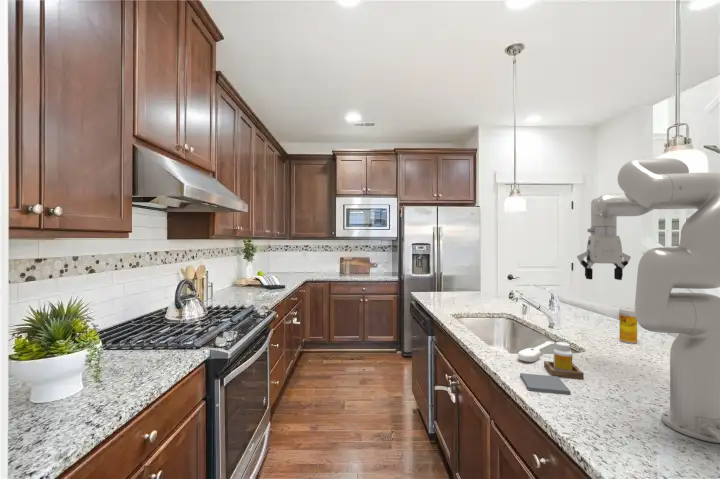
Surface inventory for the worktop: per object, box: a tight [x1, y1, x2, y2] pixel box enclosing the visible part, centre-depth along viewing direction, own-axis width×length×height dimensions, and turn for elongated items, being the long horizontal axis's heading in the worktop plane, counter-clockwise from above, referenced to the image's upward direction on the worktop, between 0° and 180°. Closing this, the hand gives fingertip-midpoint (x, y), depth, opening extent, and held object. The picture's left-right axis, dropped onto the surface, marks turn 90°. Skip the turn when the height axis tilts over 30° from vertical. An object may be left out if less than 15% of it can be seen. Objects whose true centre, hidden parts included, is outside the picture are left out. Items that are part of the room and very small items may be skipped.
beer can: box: [619, 305, 638, 344], centre depth 149 cm, size 6×6×15 cm
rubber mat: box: [519, 372, 571, 396], centre depth 104 cm, size 11×11×1 cm
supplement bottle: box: [553, 341, 573, 371], centre depth 113 cm, size 5×5×10 cm
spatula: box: [517, 340, 555, 363], centre depth 132 cm, size 28×6×3 cm, turn 132°
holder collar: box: [543, 360, 585, 380], centre depth 113 cm, size 9×9×2 cm
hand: (603, 279), depth 123 cm, fingers open, 9 cm apart
